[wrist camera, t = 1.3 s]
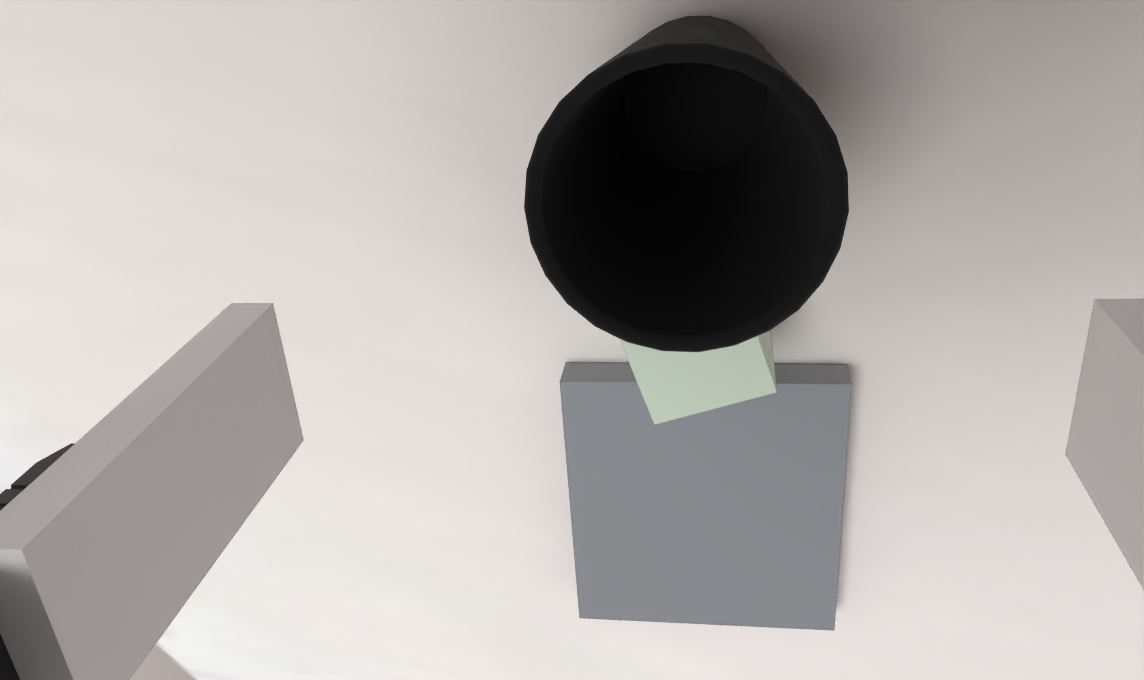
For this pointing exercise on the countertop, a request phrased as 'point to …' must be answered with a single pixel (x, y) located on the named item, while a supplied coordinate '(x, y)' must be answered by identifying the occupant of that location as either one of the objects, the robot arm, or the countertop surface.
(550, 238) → the cup
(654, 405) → the sage block
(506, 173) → the countertop surface
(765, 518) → the plate
